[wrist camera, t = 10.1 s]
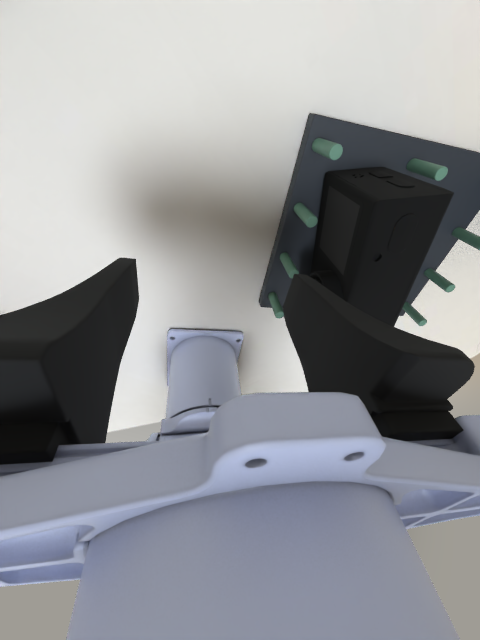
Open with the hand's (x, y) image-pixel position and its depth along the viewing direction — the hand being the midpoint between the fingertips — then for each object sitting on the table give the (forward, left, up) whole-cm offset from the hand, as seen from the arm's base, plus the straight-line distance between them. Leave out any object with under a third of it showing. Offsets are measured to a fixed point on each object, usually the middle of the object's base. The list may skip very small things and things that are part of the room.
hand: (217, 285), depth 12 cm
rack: (0, -14, -10) cm, 17 cm away
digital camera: (0, -10, -10) cm, 14 cm away
